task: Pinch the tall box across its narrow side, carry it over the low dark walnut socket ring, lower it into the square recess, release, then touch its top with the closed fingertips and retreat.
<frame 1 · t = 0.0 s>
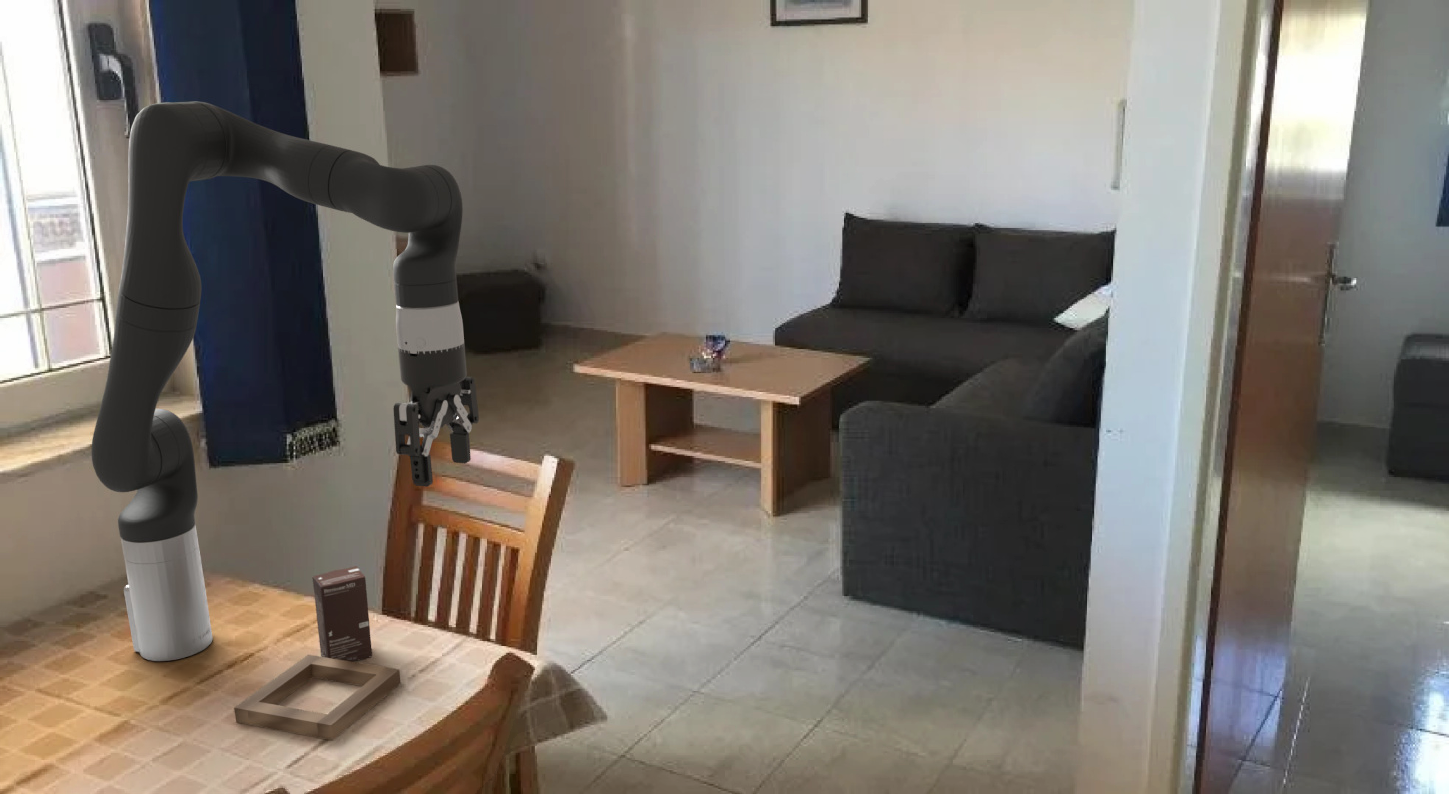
hand: (442, 473, 141), 29 cm above the table, fingers open, 8 cm apart
box: (347, 659, 159), on the table
socket: (320, 702, 147), on the table
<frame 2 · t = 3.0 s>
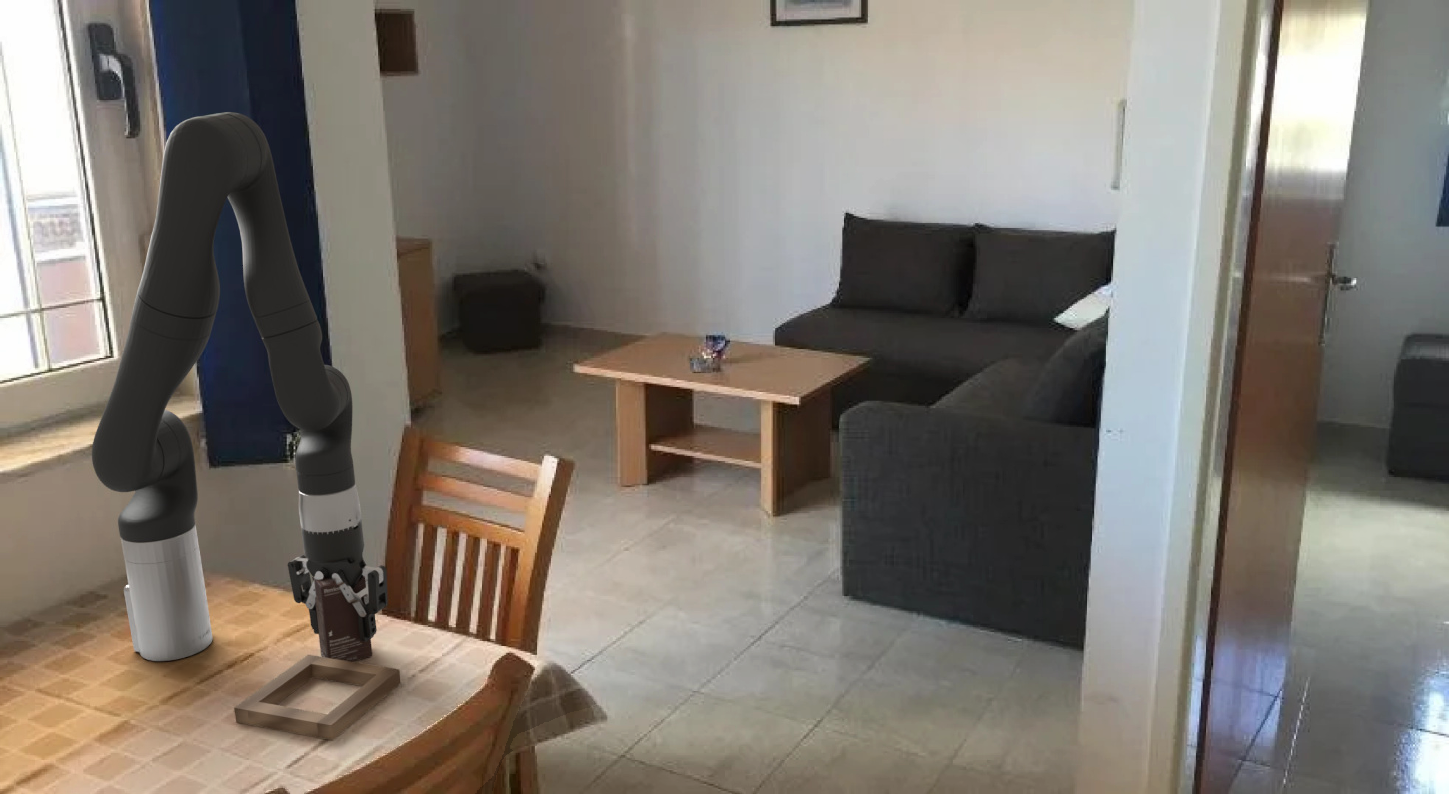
hand: (344, 635, 158), 3 cm above the table, fingers closed on box, 6 cm apart
box: (347, 659, 159), on the table, touching gripper
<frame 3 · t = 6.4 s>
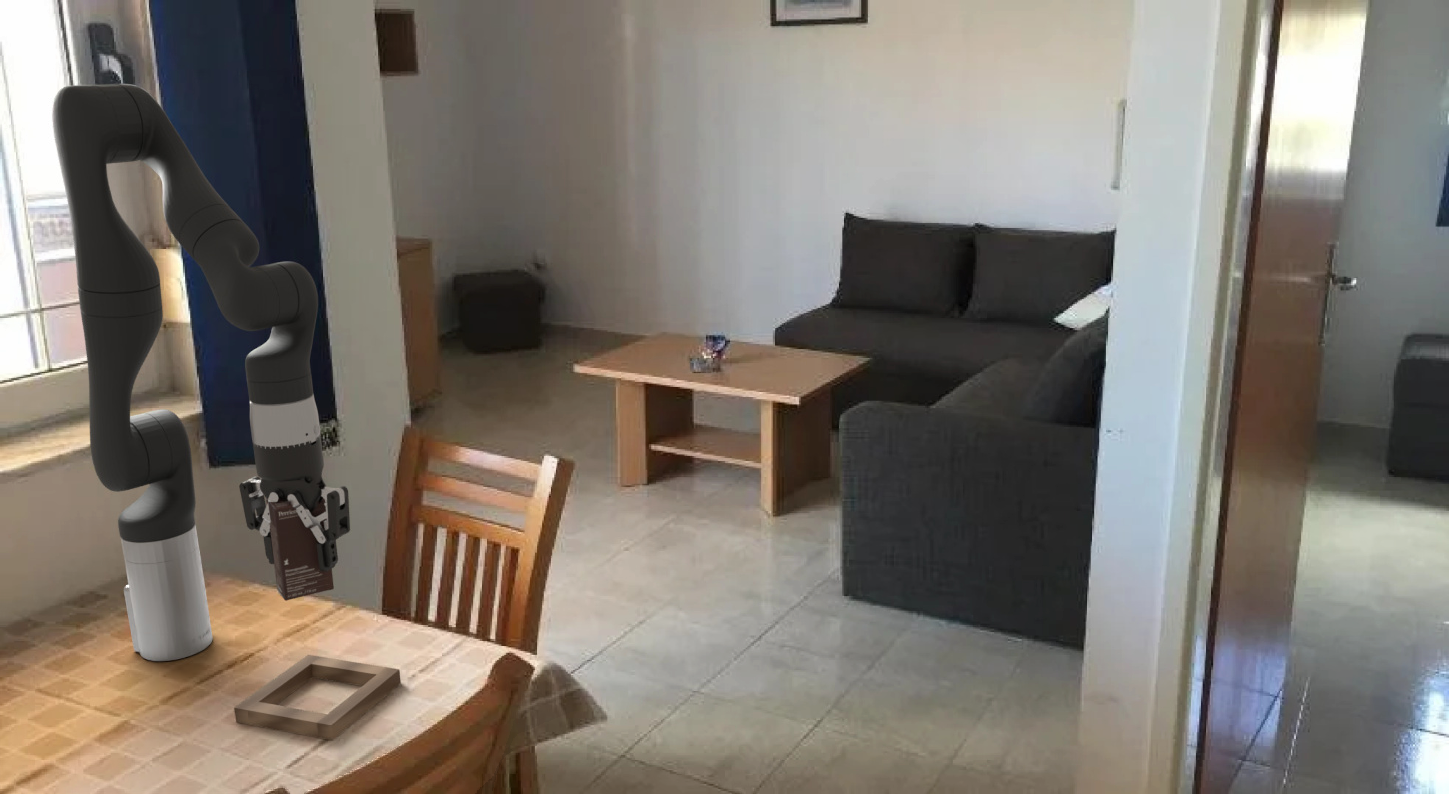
hand: (302, 565, 143), 18 cm above the table, fingers closed on box, 6 cm apart
box: (306, 592, 144), point 15 cm above the table, touching gripper
when the fingers open (4 cm above the table, at t = 10.1 s): box stays where it is, resting in socket.
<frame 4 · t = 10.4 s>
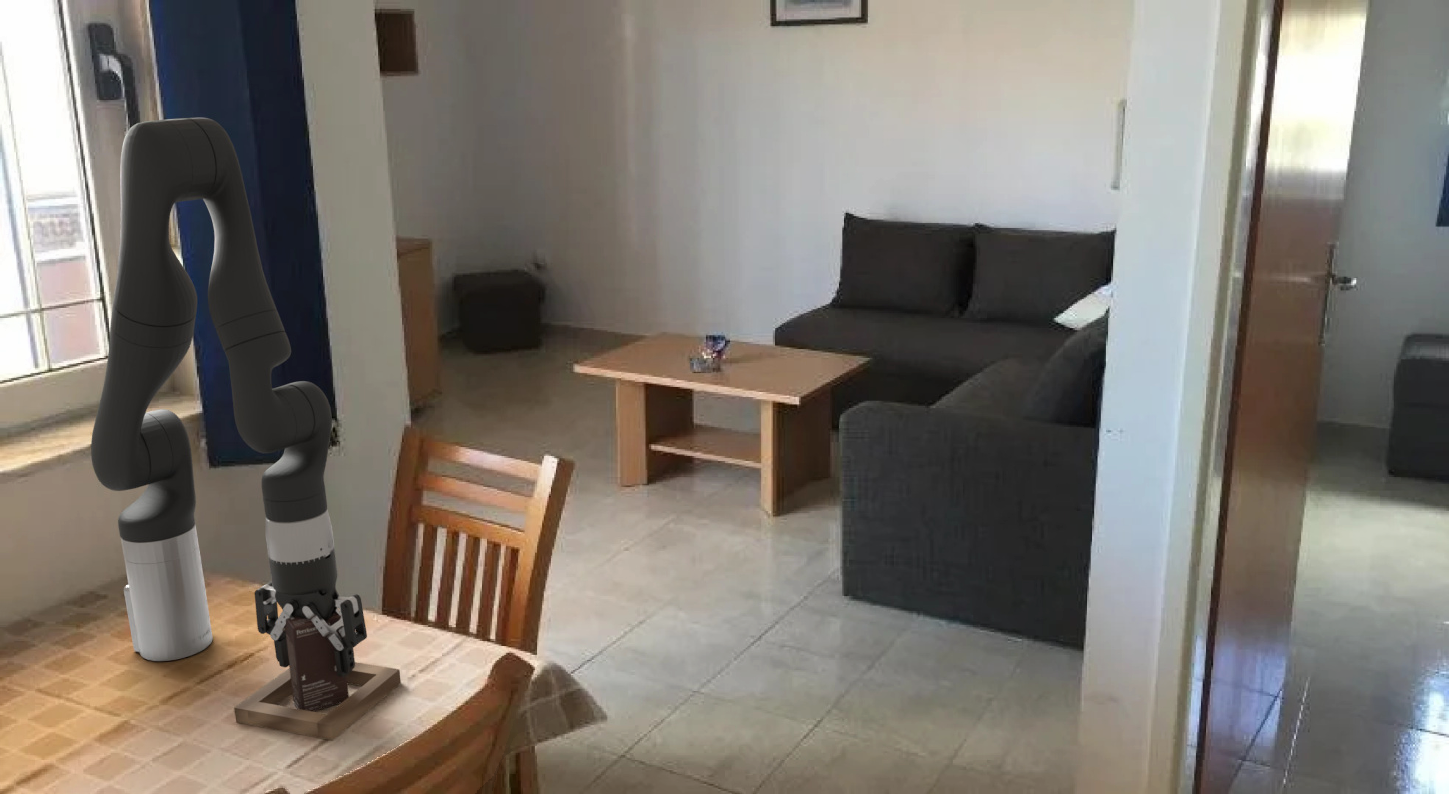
hand: (316, 669, 146), 5 cm above the table, fingers open, 8 cm apart
box: (322, 703, 148), resting in socket
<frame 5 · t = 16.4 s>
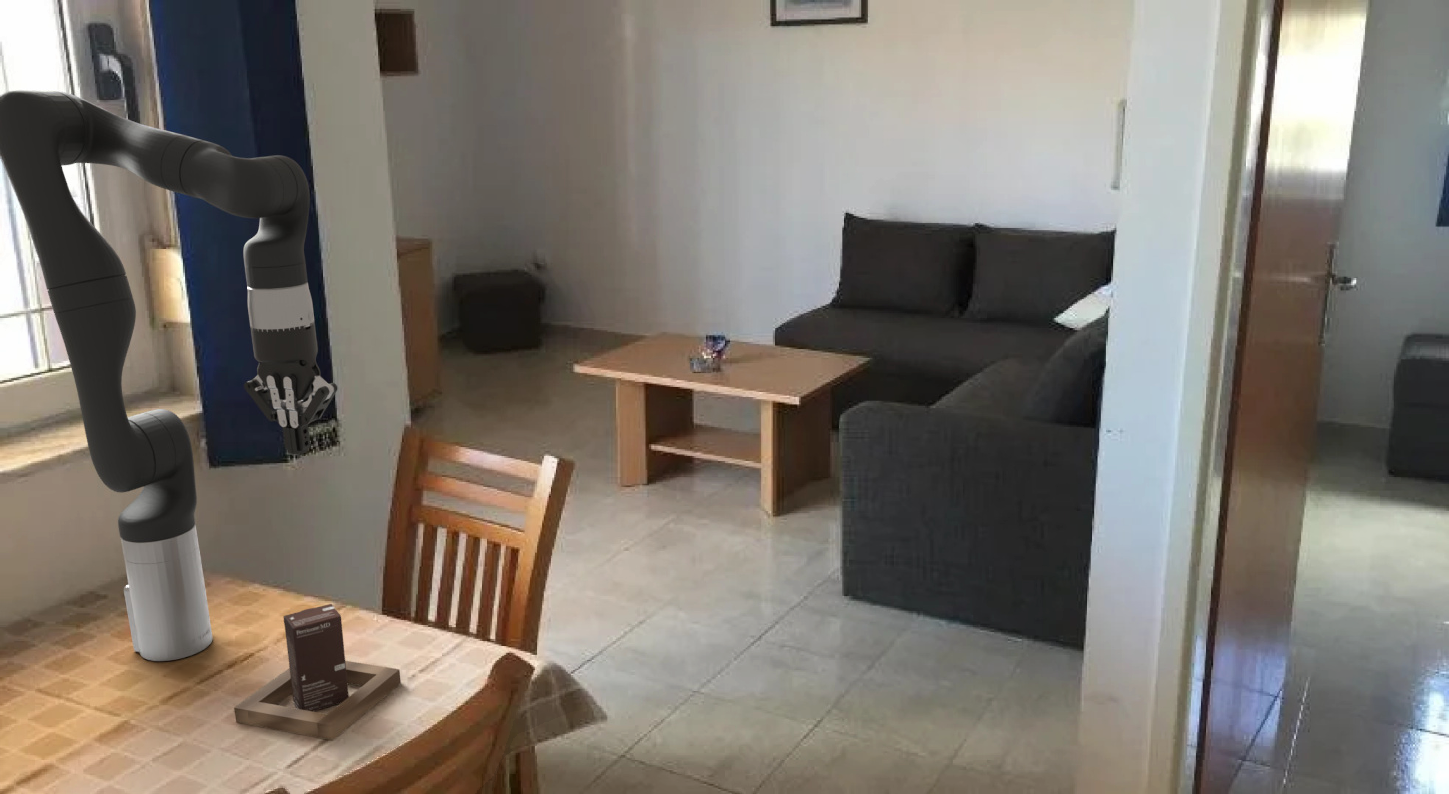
hand: (298, 453, 151), 29 cm above the table, fingers closed
nothing on the table moved.
at the end: box 0.2 cm off-centre on the socket, point 0.0 cm above the socket's base; box tilted 0°; the gripper is holding nothing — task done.
